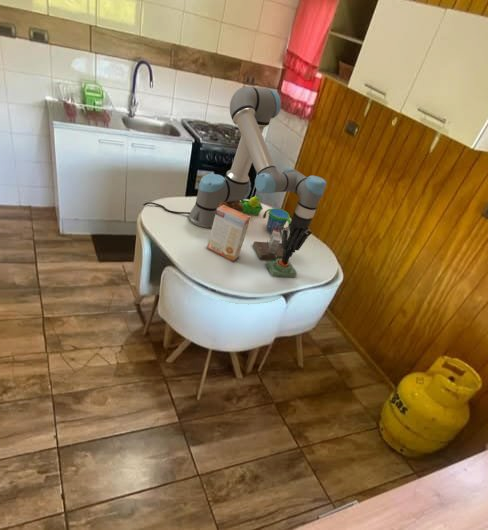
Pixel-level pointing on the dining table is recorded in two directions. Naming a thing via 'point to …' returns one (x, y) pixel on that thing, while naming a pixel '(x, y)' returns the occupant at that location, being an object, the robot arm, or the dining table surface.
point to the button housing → (280, 269)
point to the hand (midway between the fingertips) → (284, 262)
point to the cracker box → (228, 232)
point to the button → (283, 264)
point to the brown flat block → (267, 251)
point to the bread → (233, 205)
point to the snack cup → (276, 219)
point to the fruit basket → (251, 206)
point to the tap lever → (274, 241)
